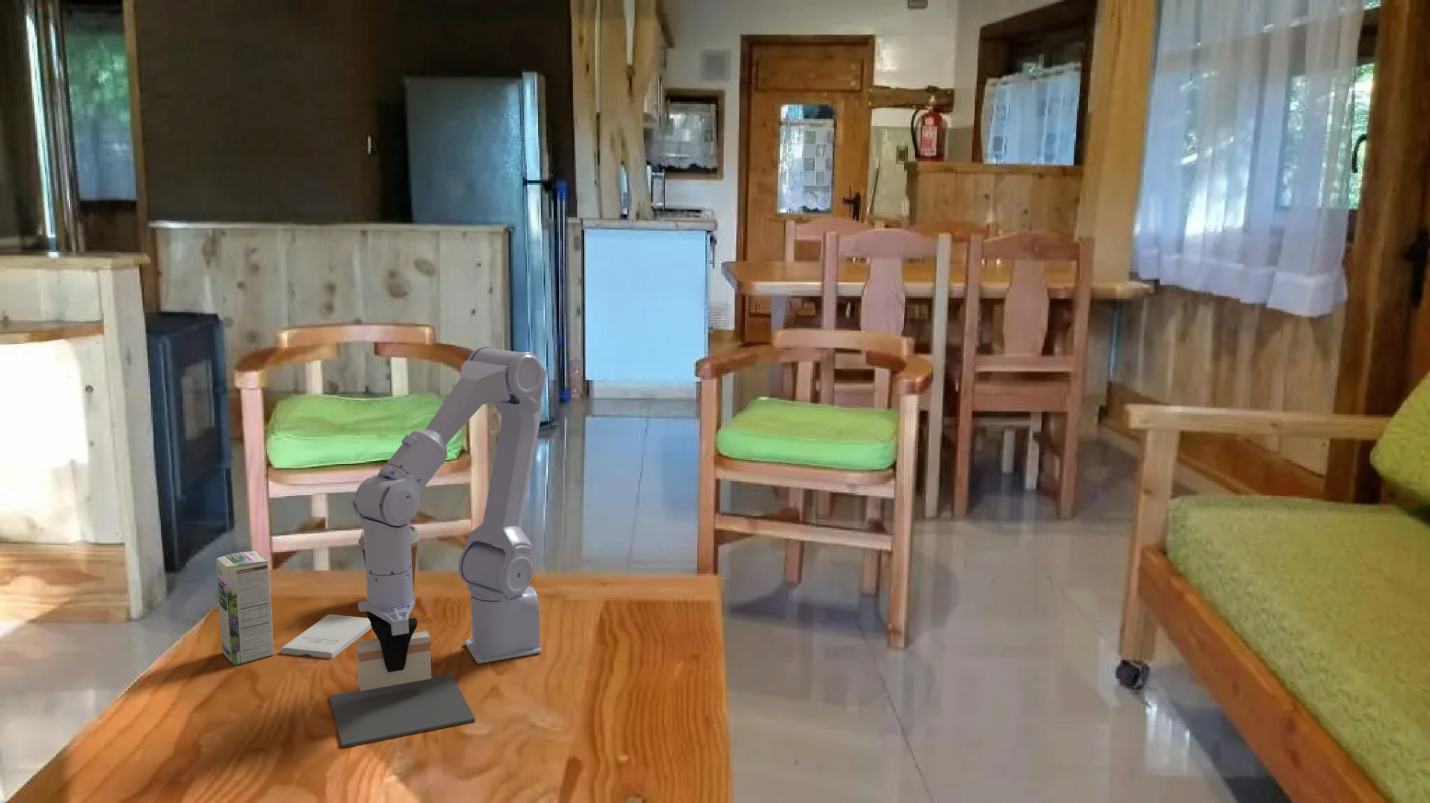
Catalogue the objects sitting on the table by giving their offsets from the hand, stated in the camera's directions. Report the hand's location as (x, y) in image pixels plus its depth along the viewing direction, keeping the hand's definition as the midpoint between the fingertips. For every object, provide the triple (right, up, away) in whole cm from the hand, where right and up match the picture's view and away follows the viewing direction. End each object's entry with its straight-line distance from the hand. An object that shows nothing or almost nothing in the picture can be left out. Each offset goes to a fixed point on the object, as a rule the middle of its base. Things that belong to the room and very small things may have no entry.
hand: (393, 666), depth 141 cm
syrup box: (-25, -2, +13) cm, 28 cm away
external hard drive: (-15, -1, +19) cm, 24 cm away
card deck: (0, -2, 0) cm, 2 cm away
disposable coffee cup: (-10, +2, +33) cm, 35 cm away
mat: (+2, -5, -3) cm, 6 cm away
